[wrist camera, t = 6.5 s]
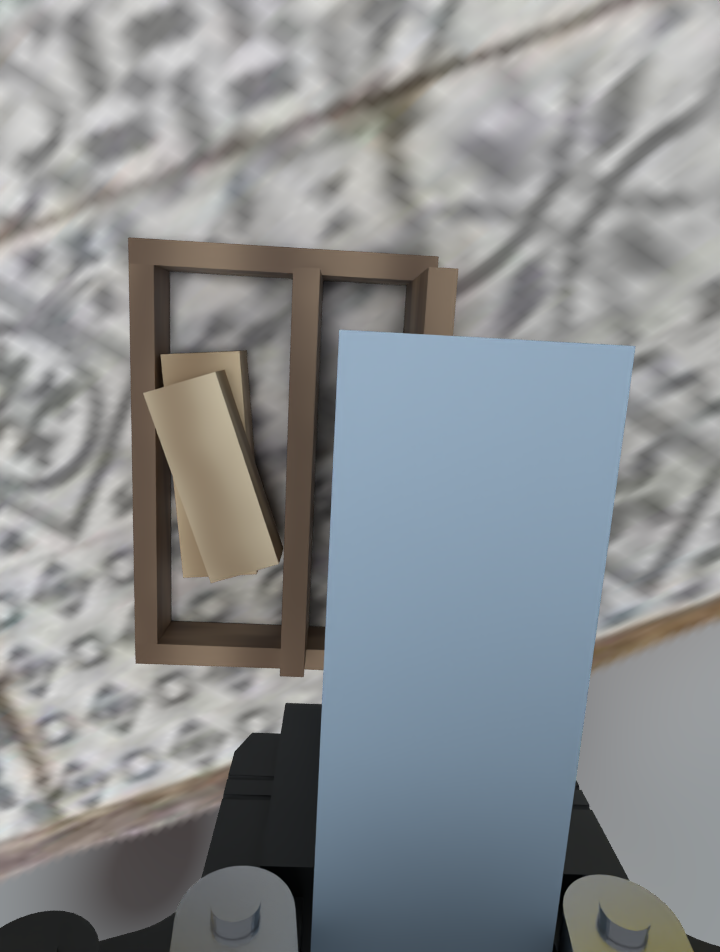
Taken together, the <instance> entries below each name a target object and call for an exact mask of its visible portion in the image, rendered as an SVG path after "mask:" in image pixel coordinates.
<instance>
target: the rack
mask: <svg viewBox="0 0 720 952" xmlns="http://www.w3.org/2000/svg"><path fill="white" fill-rule="evenodd" d="M128 250H129V308H130V366H131V424H132V482H133V540H134V598H135V656H136V663H138V664H167V665H196V666H224V667H253V668H280V676H289V677H304V669H310V670H324V650H325V629H326V627H317V626H309V614H310V590H311V566H312V542H313V518H314V494H315V470H316V446H317V421H318V397H319V373H320V349H321V325H322V301H323V281H339V282H356V283H373V284H390V285H406V301H405V316H404V331H403V333H408V334H426V335H443V336H453V327H454V315H455V303H456V291H457V279H458V269H454V268H438V257H437V256H420V255H404V254H388V253H372V252H355V251H339V250H323V249H307V248H290V247H274V246H258V245H242V244H225V243H209V242H193V241H177V240H160V239H144V238H128ZM169 271H171V272H188V273H205V274H222V275H238V276H255V277H272V278H289V279H293V286H292V317H291V348H290V379H289V410H288V441H287V472H286V503H285V535H284V566H283V597H282V625H263V624H237V623H210V622H184V621H171V472H170V467H169V464H168V461H167V459H166V456H165V453H164V450H163V447H162V445H161V442H160V439H159V436H158V434H157V431H156V428H155V425H154V422H153V420H152V417H151V414H150V411H149V408H148V406H147V403H146V400H145V397H144V394H143V393H145V392H149V391H152V390H155V389H159V388H162V387H164V384H163V374H162V365H161V354H170V273H169Z"/></svg>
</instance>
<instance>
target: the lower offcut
mask: <svg viewBox="0 0 720 952" xmlns="http://www.w3.org/2000/svg"><path fill="white" fill-rule="evenodd" d="M161 365H162V374H163V384H164V387H166V386H169V385H172V384H176V383H179V382H183V381H186V380H189V379H193V378H196V377H200V376H203V375H206V374H210V373H213V372H217V371H221V370H225V372H226V375H227V378H228V381H229V384H230V387H231V391H232V394H233V397H234V400H235V403H236V406H237V409H238V412H239V415H240V418H241V421H242V424H243V427H244V430H245V433H246V436H247V439H248V442H249V445H250V448H251V452H252V455H253V458H254V461H255V455H254V442H253V429H252V415H251V402H250V389H249V376H248V362H247V351H223V352H199V353H175V354H161ZM173 482H174V491H175V501H176V511H177V521H178V531H179V540H180V550H181V560H182V570H183V578H189V577H209V576H208V573H207V571H206V568H205V565H204V562H203V559H202V557H201V554H200V551H199V548H198V545H197V543H196V540H195V537H194V534H193V531H192V529H191V526H190V523H189V520H188V517H187V515H186V512H185V509H184V506H183V503H182V501H181V498H180V495H179V492H178V489H177V487H176V484H175V481H174V478H173ZM257 572H258V570H256V571H253V572H249V573H246V574H242V575H250V574H257Z"/></svg>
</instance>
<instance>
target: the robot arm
mask: <svg viewBox="0 0 720 952" xmlns="http://www.w3.org/2000/svg"><path fill="white" fill-rule="evenodd" d="M321 715H322V704H300V703H286V704H285V710H284V716H283V723H282V729H281V734H274V733H252V734H251V735H250V736H249V737H248V738H247V739H246V740H245V741H244V742H243V743H242V744H241V745H240V747H239V748H238V749H237V750H236V751H235V752H234V756H233V760H232V764H231V767H230V771H229V776H228V779H227V783H226V787H225V790H224V795H223V799H222V802H221V806H220V810H219V813H218V817H217V821H216V825H215V829H214V832H213V836H212V841H211V844H210V848H209V852H208V856H207V859H206V863H205V867H204V871H203V874H202V877H201V879H200V880H199V881H197V882H196V883H195V884H194V885H193V886H191V888H190V889H189V890H188V891H187V892H186V893H185V895H184V896H183V898H182V899H181V901H180V903H179V905H178V907H177V910H176V912H175V913H173V914H172V915H171V916H169V917H167V918H166V919H164V920H163V921H161V922H159V923H157V924H155V925H152V926H150V927H148V928H145V929H142V930H139V931H135V932H132V933H128V934H124V935H121V936H117V937H113V938H109V939H106V940H102V941H98V936H97V933H96V932H95V929H94V928H93V926H92V925H91V924H90V923H89V922H88V921H87V920H85V919H84V918H82V917H81V916H78V915H76V914H74V913H70V912H65V911H44V912H38V913H34V914H30V915H27V916H24V917H21V918H19V919H16V920H14V921H12V922H10V923H8V924H6V925H4V926H3V927H1V928H0V952H311V931H312V910H313V888H314V867H315V845H316V823H317V802H318V780H319V758H320V737H321ZM552 952H720V947H719V946H716V945H712V944H709V943H707V942H704V941H701V940H698V939H696V938H693V937H691V936H689V935H687V934H686V933H685V931H684V929H683V927H682V925H681V923H680V921H679V920H678V919H677V917H676V916H675V914H674V913H673V912H672V911H671V909H670V908H668V906H667V905H666V904H665V903H664V902H662V901H661V900H660V899H659V898H658V897H657V896H656V895H654V894H652V893H651V892H650V891H648V890H647V889H645V888H643V887H641V886H640V885H638V884H636V883H633V882H631V881H629V879H628V877H627V875H626V873H625V871H624V869H623V867H622V866H621V864H620V862H619V860H618V858H617V856H616V854H615V852H614V851H613V849H612V847H611V845H610V843H609V841H608V839H607V837H606V835H605V834H604V832H603V830H602V828H601V826H600V824H599V823H598V821H597V819H596V817H595V815H594V813H593V811H592V810H590V809H589V804H588V802H587V800H586V798H585V796H584V794H583V792H582V790H579V785H578V783H577V781H576V783H575V790H574V797H573V804H572V812H571V819H570V826H569V833H568V841H567V848H566V855H565V863H564V870H563V877H562V884H561V892H560V899H559V906H558V913H557V921H556V928H555V935H554V943H553V950H552Z"/></svg>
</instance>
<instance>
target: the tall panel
mask: <svg viewBox="0 0 720 952" xmlns="http://www.w3.org/2000/svg"><path fill="white" fill-rule="evenodd" d="M634 353H635V346H623V345H605V344H587V343H569V342H551V341H533V340H515V339H497V338H479V337H461V336H443V335H426V334H408V333H390V332H372V331H354V330H339V348H338V369H337V391H336V413H335V434H334V456H333V477H332V499H331V521H330V542H329V564H328V585H327V607H326V629H325V650H324V672H323V694H322V715H321V737H320V758H319V780H318V802H317V823H316V845H315V867H314V888H313V910H312V931H311V952H552V950H553V943H554V935H555V928H556V921H557V913H558V906H559V899H560V892H561V884H562V877H563V870H564V863H565V855H566V848H567V841H568V833H569V826H570V819H571V812H572V804H573V797H574V790H575V783H576V775H577V768H578V761H579V753H580V746H581V738H582V732H583V731H582V730H583V724H584V717H585V710H586V702H587V695H588V688H589V681H590V673H591V666H592V659H593V652H594V644H595V637H596V630H597V622H598V615H599V608H600V601H601V593H602V586H603V579H604V572H605V564H606V557H607V550H608V542H609V535H610V528H611V521H612V513H613V506H614V499H615V492H616V484H617V477H618V470H619V462H620V455H621V448H622V441H623V433H624V426H625V419H626V412H627V404H628V397H629V390H630V382H631V375H632V368H633V361H634Z"/></svg>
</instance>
